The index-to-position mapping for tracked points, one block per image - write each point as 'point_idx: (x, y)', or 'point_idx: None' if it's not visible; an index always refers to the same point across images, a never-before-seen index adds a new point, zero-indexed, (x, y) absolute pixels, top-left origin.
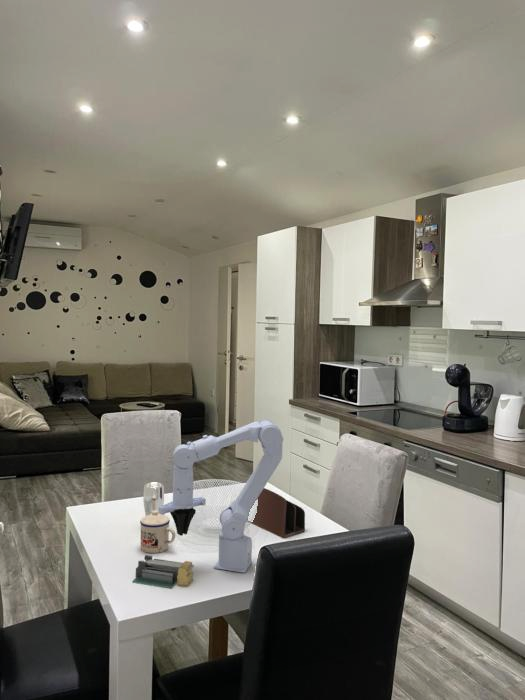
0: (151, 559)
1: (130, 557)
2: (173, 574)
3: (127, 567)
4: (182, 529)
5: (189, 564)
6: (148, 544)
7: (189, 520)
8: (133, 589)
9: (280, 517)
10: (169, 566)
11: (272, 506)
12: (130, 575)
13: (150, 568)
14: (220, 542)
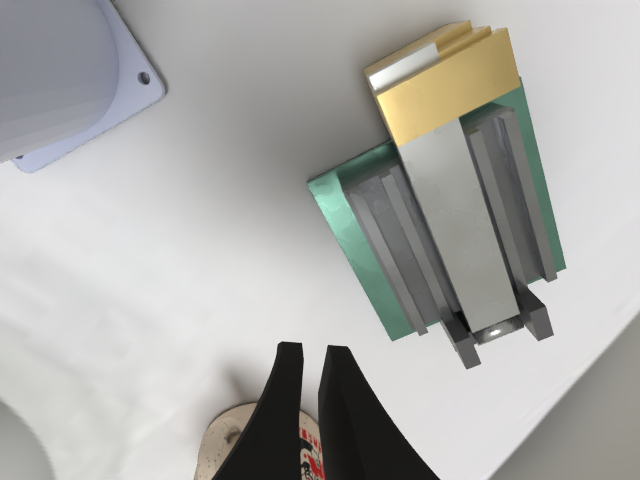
0: (457, 328)
1: None
2: (503, 116)
3: (464, 375)
4: (352, 384)
5: (423, 75)
6: (319, 456)
7: (266, 456)
8: (615, 209)
9: None
10: (479, 190)
11: None
12: None
13: (520, 264)
14: (13, 89)
